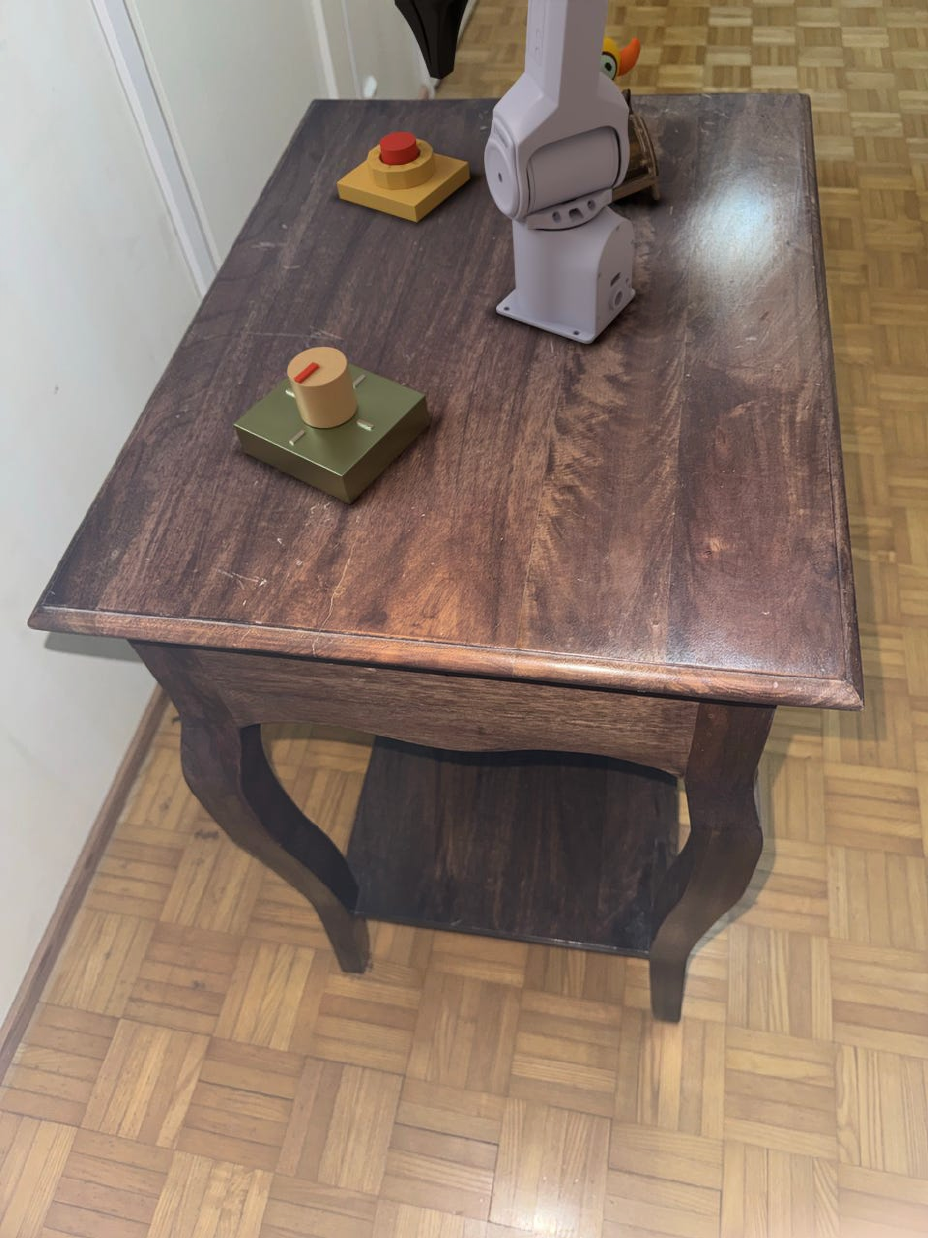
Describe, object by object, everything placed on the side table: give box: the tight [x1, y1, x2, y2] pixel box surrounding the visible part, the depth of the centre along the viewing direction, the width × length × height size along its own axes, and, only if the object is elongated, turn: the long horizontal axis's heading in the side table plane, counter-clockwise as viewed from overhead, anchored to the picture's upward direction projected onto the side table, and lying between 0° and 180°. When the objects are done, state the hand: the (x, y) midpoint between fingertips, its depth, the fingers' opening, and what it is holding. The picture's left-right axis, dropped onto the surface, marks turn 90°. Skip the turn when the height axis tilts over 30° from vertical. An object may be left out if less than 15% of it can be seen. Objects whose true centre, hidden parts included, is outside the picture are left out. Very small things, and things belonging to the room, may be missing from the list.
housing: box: [336, 138, 471, 223], centre depth 91 cm, size 10×9×4 cm
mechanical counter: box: [611, 113, 661, 203], centre depth 85 cm, size 7×13×10 cm
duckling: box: [600, 35, 642, 83], centre depth 90 cm, size 11×5×10 cm, turn 110°
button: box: [379, 131, 418, 166], centre depth 89 cm, size 4×4×2 cm
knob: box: [286, 346, 357, 428], centre depth 67 cm, size 4×4×4 cm
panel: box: [233, 362, 431, 505], centre depth 70 cm, size 11×10×3 cm
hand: (441, 73), depth 84 cm, fingers closed
